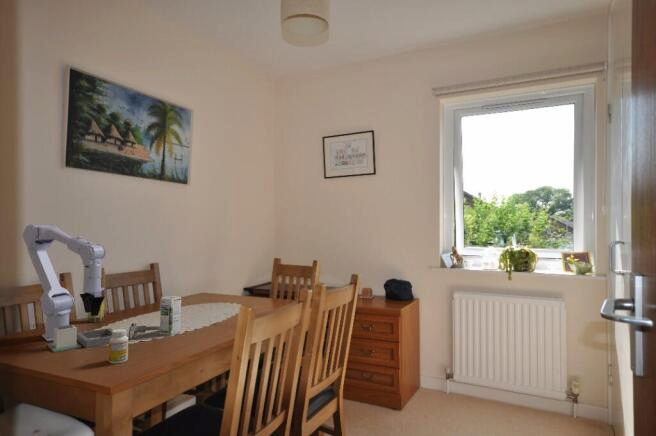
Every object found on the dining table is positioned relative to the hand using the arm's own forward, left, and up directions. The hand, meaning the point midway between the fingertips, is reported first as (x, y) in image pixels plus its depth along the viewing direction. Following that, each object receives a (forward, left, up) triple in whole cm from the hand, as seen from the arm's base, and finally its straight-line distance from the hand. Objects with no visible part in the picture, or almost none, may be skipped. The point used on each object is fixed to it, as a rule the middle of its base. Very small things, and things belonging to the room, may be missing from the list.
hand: (91, 313), depth 151 cm
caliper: (+5, +20, -10) cm, 23 cm away
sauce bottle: (-31, +10, -10) cm, 34 cm away
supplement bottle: (+30, 0, -10) cm, 32 cm away
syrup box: (+9, +26, -10) cm, 29 cm away
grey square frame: (+2, +2, -10) cm, 10 cm away
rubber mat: (+2, -9, -10) cm, 14 cm away
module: (+2, -9, -9) cm, 13 cm away
